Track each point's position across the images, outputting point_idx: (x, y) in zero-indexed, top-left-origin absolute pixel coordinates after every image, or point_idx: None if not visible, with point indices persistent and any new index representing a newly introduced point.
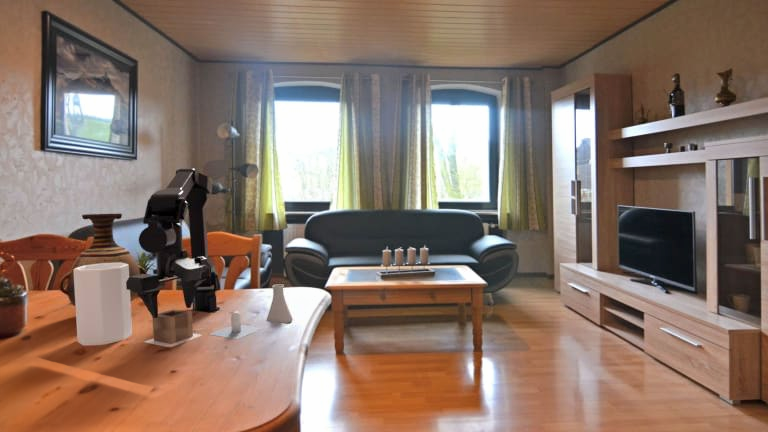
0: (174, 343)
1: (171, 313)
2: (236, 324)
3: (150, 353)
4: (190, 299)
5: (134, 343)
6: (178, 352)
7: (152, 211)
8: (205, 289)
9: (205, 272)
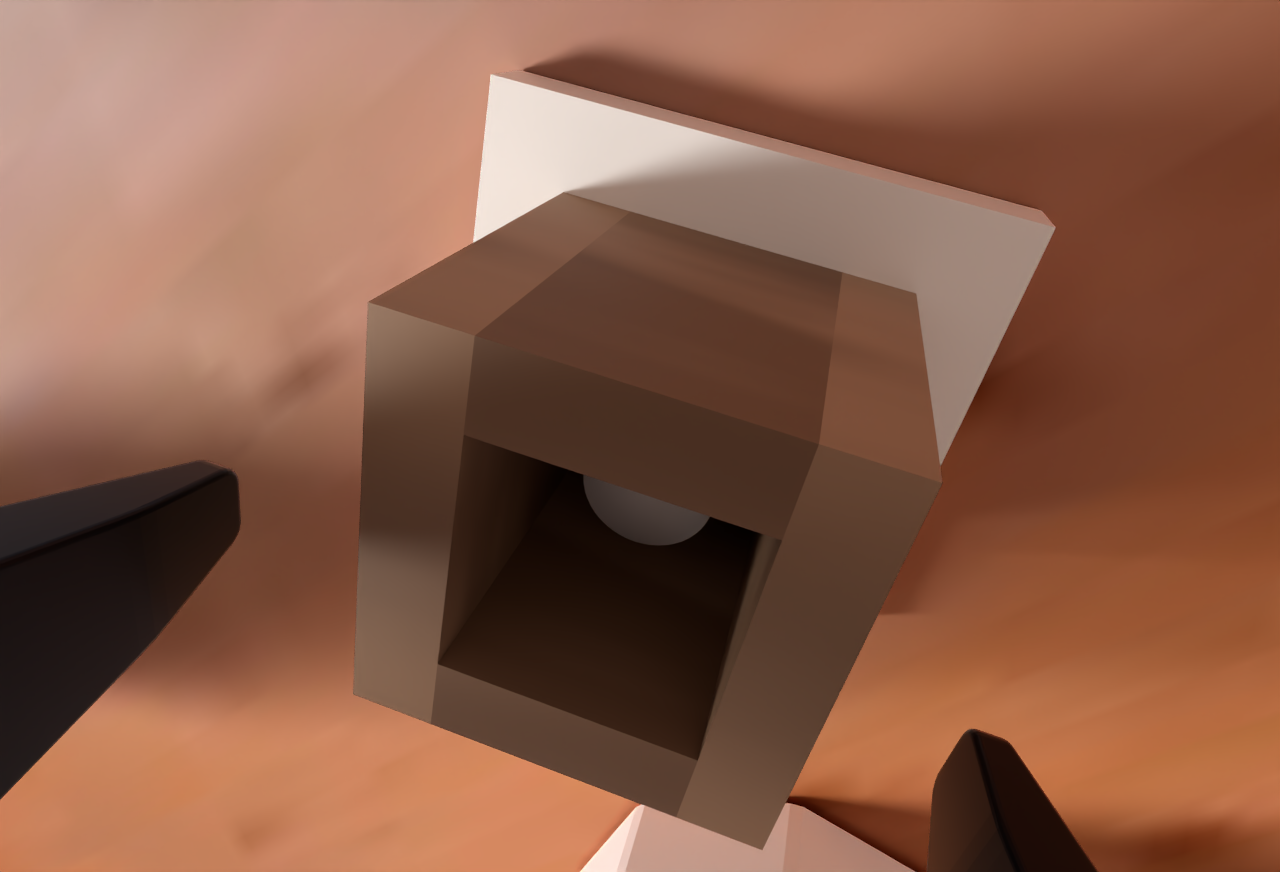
0: (887, 267)
1: (496, 652)
2: None
3: (1065, 448)
4: (69, 541)
5: None
6: (1037, 95)
7: None
8: None
9: None
